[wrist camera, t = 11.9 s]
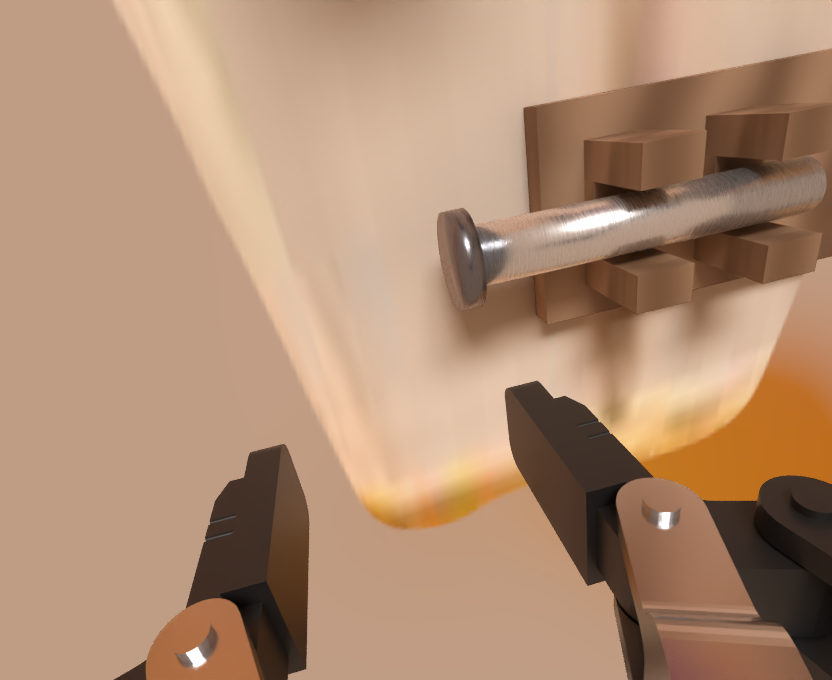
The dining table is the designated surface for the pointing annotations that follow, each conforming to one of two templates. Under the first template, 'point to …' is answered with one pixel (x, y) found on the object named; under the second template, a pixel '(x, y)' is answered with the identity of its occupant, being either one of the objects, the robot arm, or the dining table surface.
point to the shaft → (619, 224)
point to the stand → (682, 177)
